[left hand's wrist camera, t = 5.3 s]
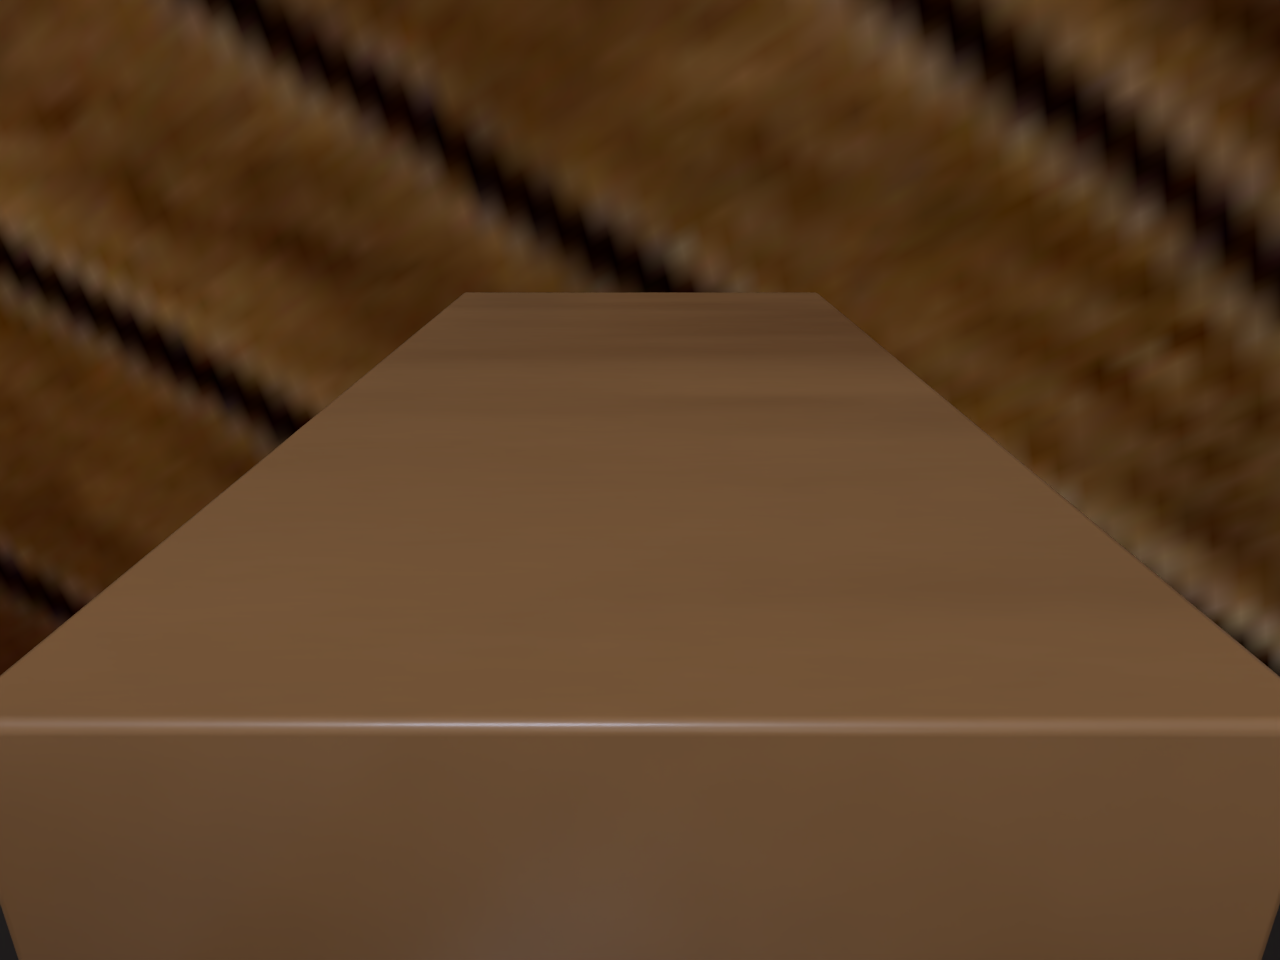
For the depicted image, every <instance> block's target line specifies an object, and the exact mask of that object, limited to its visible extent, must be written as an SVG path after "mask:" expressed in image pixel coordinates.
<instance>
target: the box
mask: <svg viewBox="0 0 1280 960" xmlns="http://www.w3.org/2000/svg"><path fill="white" fill-rule="evenodd" d="M0 905H1V908H2V911H3V914H4V917H5V920H6V923H7V926H8V929H9V932H10V935H11V938H12V941H13V944H14V947H15V950H16V953H17V957H18V960H1262V957H1263V954H1264V951H1265V948H1266V945H1267V942H1268V939H1269V935H1270V932H1271V929H1272V926H1273V923H1274V920H1275V917H1276V914H1277V911H1278V908H1279V905H1280V677H1279V676H1278V675H1277V674H1276V673H1274V672H1273V671H1272V670H1271V669H1270V668H1268V667H1267V666H1266V665H1265V664H1264V663H1262V662H1261V661H1260V660H1259V659H1258V658H1256V657H1255V656H1254V655H1253V654H1252V653H1250V652H1249V651H1248V650H1247V649H1246V648H1244V647H1243V646H1242V645H1241V644H1240V643H1238V642H1237V641H1236V640H1235V639H1233V638H1232V637H1231V636H1230V635H1229V634H1227V633H1226V632H1225V631H1224V630H1223V629H1221V628H1220V627H1219V626H1218V625H1217V624H1215V623H1214V622H1213V621H1212V620H1211V619H1209V618H1208V617H1207V616H1206V615H1205V614H1203V613H1202V612H1201V611H1200V610H1199V609H1197V608H1196V607H1195V606H1194V605H1193V604H1191V603H1190V602H1189V601H1188V600H1186V599H1185V598H1184V597H1183V596H1182V595H1180V594H1179V593H1178V592H1177V591H1176V590H1174V589H1173V588H1172V587H1171V586H1170V585H1168V584H1167V583H1166V582H1165V581H1164V580H1162V579H1161V578H1160V577H1159V576H1158V575H1156V574H1155V573H1154V572H1153V571H1152V570H1150V569H1149V568H1148V567H1147V566H1146V565H1144V564H1143V563H1142V562H1141V561H1139V560H1138V559H1137V558H1136V557H1135V556H1133V555H1132V554H1131V553H1130V552H1129V551H1127V550H1126V549H1125V548H1124V547H1123V546H1121V545H1120V544H1119V543H1118V542H1117V541H1115V540H1114V539H1113V538H1112V537H1111V536H1109V535H1108V534H1107V533H1106V532H1105V531H1103V530H1102V529H1101V528H1100V527H1099V526H1097V525H1096V524H1095V523H1094V522H1092V521H1091V520H1090V519H1089V518H1088V517H1086V516H1085V515H1084V514H1083V513H1082V512H1080V511H1079V510H1078V509H1077V508H1076V507H1074V506H1073V505H1072V504H1071V503H1070V502H1068V501H1067V500H1066V499H1065V498H1064V497H1062V496H1061V495H1060V494H1059V493H1058V492H1056V491H1055V490H1054V489H1053V488H1052V487H1050V486H1049V485H1048V484H1047V483H1045V482H1044V481H1043V480H1042V479H1041V478H1039V477H1038V476H1037V475H1036V474H1035V473H1033V472H1032V471H1031V470H1030V469H1029V468H1027V467H1026V466H1025V465H1024V464H1023V463H1021V462H1020V461H1019V460H1018V459H1017V458H1015V457H1014V456H1013V455H1012V454H1011V453H1009V452H1008V451H1007V450H1006V449H1005V448H1003V447H1002V446H1001V445H1000V444H998V443H997V442H996V441H995V440H994V439H992V438H991V437H990V436H989V435H988V434H986V433H985V432H984V431H983V430H982V429H980V428H979V427H978V426H977V425H976V424H974V423H973V422H972V421H971V420H970V419H968V418H967V417H966V416H965V415H964V414H962V413H961V412H960V411H959V410H958V409H956V408H955V407H954V406H953V405H951V404H950V403H949V402H948V401H947V400H945V399H944V398H943V397H942V396H941V395H939V394H938V393H937V392H936V391H935V390H933V389H932V388H931V387H930V386H929V385H927V384H926V383H925V382H924V381H923V380H921V379H920V378H919V377H918V376H917V375H915V374H914V373H913V372H912V371H911V370H909V369H908V368H907V367H906V366H904V365H903V364H902V363H901V362H900V361H898V360H897V359H896V358H895V357H894V356H892V355H891V354H890V353H889V352H888V351H886V350H885V349H884V348H883V347H882V346H880V345H879V344H878V343H877V342H876V341H874V340H873V339H872V338H871V337H870V336H868V335H867V334H866V333H865V332H864V331H862V330H861V329H860V328H859V327H857V326H856V325H855V324H854V323H853V322H851V321H850V320H849V319H848V318H847V317H845V316H844V315H843V314H842V313H841V312H839V311H838V310H837V309H836V308H835V307H833V306H832V305H831V304H830V303H829V302H827V301H826V300H825V299H824V298H823V297H821V296H820V295H819V294H817V293H464V294H463V295H461V296H460V297H459V298H458V299H456V300H455V301H454V302H453V303H452V304H450V305H449V306H448V307H447V308H446V309H444V310H443V311H442V312H441V313H439V314H438V315H437V316H436V317H435V318H433V319H432V320H431V321H430V322H429V323H427V324H426V325H425V326H424V327H422V328H421V329H420V330H419V331H418V332H416V333H415V334H414V335H413V336H412V337H410V338H409V339H408V340H407V341H406V342H404V343H403V344H402V345H401V346H399V347H398V348H397V349H396V350H395V351H393V352H392V353H391V354H390V355H389V356H387V357H386V358H385V359H384V360H382V361H381V362H380V363H379V364H378V365H376V366H375V367H374V368H373V369H372V370H370V371H369V372H368V373H367V374H366V375H364V376H363V377H362V378H361V379H359V380H358V381H357V382H356V383H355V384H353V385H352V386H351V387H350V388H349V389H347V390H346V391H345V392H344V393H342V394H341V395H340V396H339V397H338V398H336V399H335V400H334V401H333V402H332V403H330V404H329V405H328V406H327V407H326V408H324V409H323V410H322V411H321V412H319V413H318V414H317V415H316V416H315V417H313V418H312V419H311V420H310V421H309V422H307V423H306V424H305V425H304V426H302V427H301V428H300V429H299V430H298V431H296V432H295V433H294V434H293V435H292V436H290V437H289V438H288V439H287V440H285V441H284V442H283V443H282V444H281V445H279V446H278V447H277V448H276V449H275V450H273V451H272V452H271V453H270V454H269V455H267V456H266V457H265V458H264V459H262V460H261V461H260V462H259V463H258V464H256V465H255V466H254V467H253V468H252V469H250V470H249V471H248V472H247V473H245V474H244V475H243V476H242V477H241V478H239V479H238V480H237V481H236V482H235V483H233V484H232V485H231V486H230V487H229V488H227V489H226V490H225V491H224V492H222V493H221V494H220V495H219V496H218V497H216V498H215V499H214V500H213V501H212V502H210V503H209V504H208V505H207V506H205V507H204V508H203V509H202V510H201V511H199V512H198V513H197V514H196V515H195V516H193V517H192V518H191V519H190V520H189V521H187V522H186V523H185V524H184V525H182V526H181V527H180V528H179V529H178V530H176V531H175V532H174V533H173V534H172V535H170V536H169V537H168V538H167V539H165V540H164V541H163V542H162V543H161V544H159V545H158V546H157V547H156V548H155V549H153V550H152V551H151V552H150V553H148V554H147V555H146V556H145V557H144V558H142V559H141V560H140V561H139V562H138V563H136V564H135V565H134V566H133V567H132V568H130V569H129V570H128V571H127V572H125V573H124V574H123V575H122V576H121V577H119V578H118V579H117V580H116V581H115V582H113V583H112V584H111V585H110V586H108V587H107V588H106V589H105V590H104V591H102V592H101V593H100V594H99V595H98V596H96V597H95V598H94V599H93V600H92V601H90V602H89V603H88V604H87V605H85V606H84V607H83V608H82V609H81V610H79V611H78V612H77V613H76V614H75V615H73V616H72V617H71V618H70V619H68V620H67V621H66V622H65V623H64V624H62V625H61V626H60V627H59V628H58V629H56V630H55V631H54V632H53V633H52V634H50V635H49V636H48V637H47V638H45V639H44V640H43V641H42V642H41V643H39V644H38V645H37V646H36V647H35V648H33V649H32V650H31V651H30V652H28V653H27V654H26V655H25V656H24V657H22V658H21V659H20V660H19V661H18V662H16V663H15V664H14V665H13V666H11V667H10V668H9V669H8V670H7V671H5V672H4V673H3V674H2V675H1V676H0Z"/></svg>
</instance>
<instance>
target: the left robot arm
mask: <svg viewBox="0 0 1280 960" xmlns="http://www.w3.org/2000/svg"><path fill="white" fill-rule="evenodd" d="M0 960H18V957H17V953H16V950H15V947H14V944H13V941H12V938H11V935H10V932H9V929H8V926H7V923H6V920H5V917H4V914H3V911H2V908H1V905H0ZM1262 960H1280V905H1279V908H1278V911H1277V914H1276V917H1275V920H1274V923H1273V926H1272V929H1271V932H1270V935H1269V939H1268V942H1267V945H1266V948H1265V951H1264V954H1263V957H1262Z"/></svg>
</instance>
